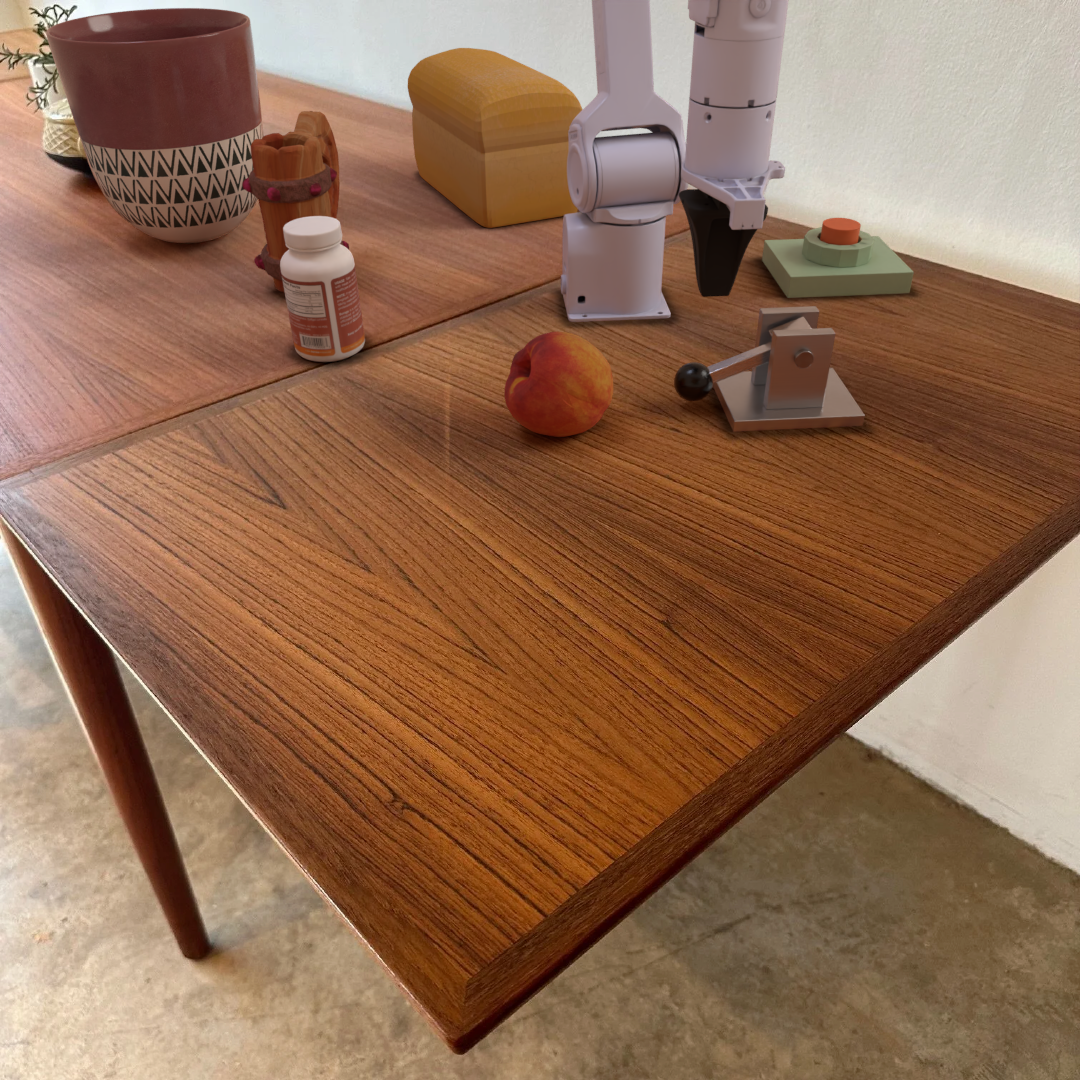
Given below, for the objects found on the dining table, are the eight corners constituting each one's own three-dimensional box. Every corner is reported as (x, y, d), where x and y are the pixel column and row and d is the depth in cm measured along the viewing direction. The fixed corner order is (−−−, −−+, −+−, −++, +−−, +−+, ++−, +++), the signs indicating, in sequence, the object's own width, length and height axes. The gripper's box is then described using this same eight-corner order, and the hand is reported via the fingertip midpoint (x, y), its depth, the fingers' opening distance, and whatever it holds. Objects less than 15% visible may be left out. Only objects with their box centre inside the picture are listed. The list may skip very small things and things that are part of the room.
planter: (65, 254, 109) (0, 35, 96) (181, 200, 123) (137, 4, 111) (214, 277, 103) (165, 48, 90) (317, 217, 117) (287, 13, 104)
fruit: (509, 404, 80) (506, 310, 76) (610, 405, 80) (614, 310, 75) (503, 456, 74) (500, 357, 69) (613, 456, 74) (617, 357, 69)
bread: (584, 213, 117) (586, 74, 108) (482, 230, 113) (475, 87, 104) (504, 160, 135) (499, 37, 126) (413, 172, 131) (402, 47, 122)
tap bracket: (732, 435, 76) (743, 346, 72) (711, 385, 82) (719, 301, 78) (862, 429, 76) (880, 340, 72) (830, 380, 83) (845, 296, 79)
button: (826, 248, 97) (829, 230, 96) (815, 235, 100) (818, 218, 99) (862, 247, 97) (865, 229, 96) (850, 234, 100) (853, 216, 99)
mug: (328, 308, 96) (304, 145, 87) (249, 302, 97) (218, 141, 88) (378, 254, 108) (362, 105, 99) (307, 249, 109) (284, 102, 100)
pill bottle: (353, 328, 92) (337, 207, 86) (375, 355, 88) (359, 229, 81) (287, 342, 90) (265, 219, 84) (305, 370, 86) (284, 242, 79)
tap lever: (684, 414, 77) (672, 382, 76) (677, 395, 80) (665, 364, 78) (821, 360, 76) (812, 326, 74) (810, 343, 78) (801, 310, 76)
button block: (787, 298, 97) (793, 258, 94) (761, 260, 105) (766, 222, 102) (909, 293, 97) (918, 253, 95) (874, 256, 105) (881, 218, 103)
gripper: (823, 124, 61) (792, 332, 69) (765, 72, 73) (744, 255, 81) (708, 128, 61) (691, 336, 69) (668, 75, 72) (657, 258, 80)
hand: (713, 292), depth 75 cm, fingers closed
